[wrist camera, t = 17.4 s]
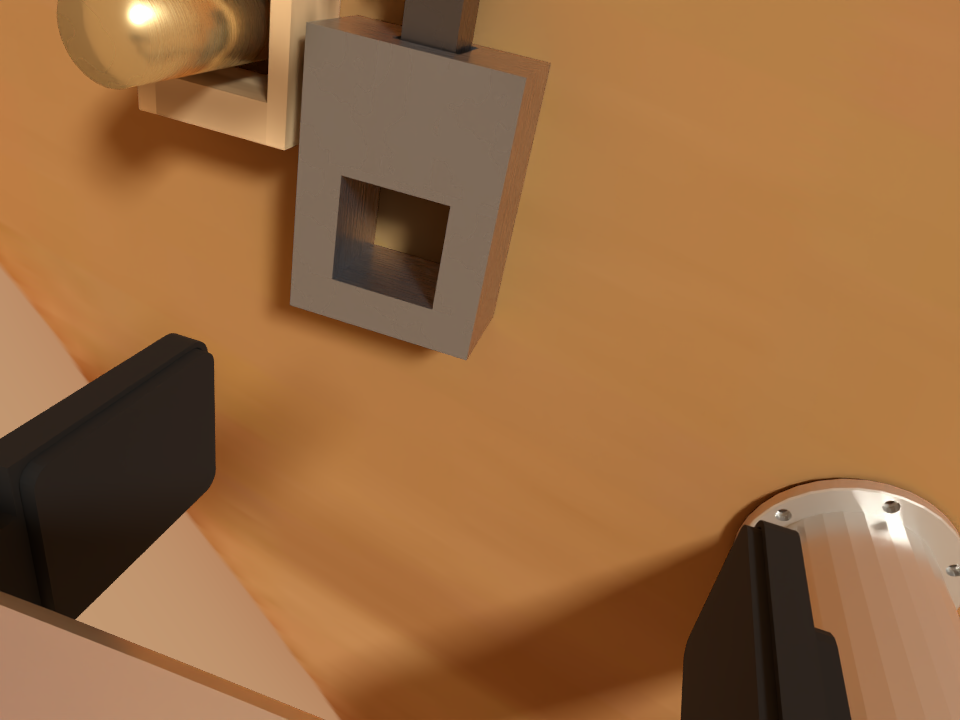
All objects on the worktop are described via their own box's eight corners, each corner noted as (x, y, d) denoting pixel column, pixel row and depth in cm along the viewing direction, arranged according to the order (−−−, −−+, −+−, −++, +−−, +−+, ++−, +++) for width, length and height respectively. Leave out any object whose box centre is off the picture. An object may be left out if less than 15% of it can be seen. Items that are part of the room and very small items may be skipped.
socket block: (493, 316, 41) (466, 360, 37) (334, 268, 43) (289, 304, 38) (550, 63, 34) (526, 77, 30) (358, 15, 36) (306, 21, 31)
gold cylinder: (302, 65, 38) (153, 100, 27) (233, 47, 38) (63, 75, 28) (306, -20, 35) (148, -16, 25) (234, -37, 36) (50, -40, 26)
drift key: (464, 155, 37) (443, 172, 34) (400, 137, 37) (373, 152, 34) (504, -66, 32) (483, -70, 29) (428, -84, 32) (400, -89, 29)
